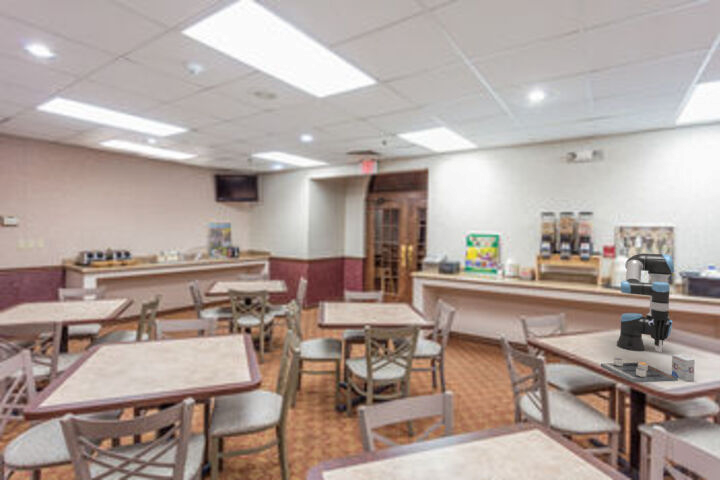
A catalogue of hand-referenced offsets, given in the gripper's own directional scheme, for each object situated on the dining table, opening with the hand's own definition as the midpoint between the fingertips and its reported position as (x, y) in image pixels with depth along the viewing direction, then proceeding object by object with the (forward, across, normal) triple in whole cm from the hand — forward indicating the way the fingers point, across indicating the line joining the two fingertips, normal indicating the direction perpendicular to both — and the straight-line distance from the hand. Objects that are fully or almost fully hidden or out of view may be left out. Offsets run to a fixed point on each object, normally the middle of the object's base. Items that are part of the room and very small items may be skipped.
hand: (658, 351), depth 200 cm
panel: (+12, +13, 0) cm, 17 cm away
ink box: (+12, -6, +8) cm, 16 cm away
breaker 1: (+10, +18, -7) cm, 22 cm away
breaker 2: (+10, +17, +8) cm, 22 cm away
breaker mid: (+10, +9, 0) cm, 14 cm away
